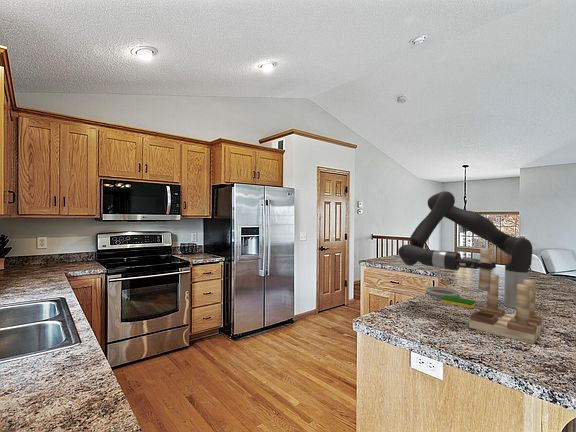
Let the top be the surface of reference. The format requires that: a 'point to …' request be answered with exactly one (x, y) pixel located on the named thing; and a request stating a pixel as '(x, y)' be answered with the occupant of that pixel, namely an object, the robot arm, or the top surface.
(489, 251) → the stool leg
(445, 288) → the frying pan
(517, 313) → the stool seat
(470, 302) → the dish sponge
